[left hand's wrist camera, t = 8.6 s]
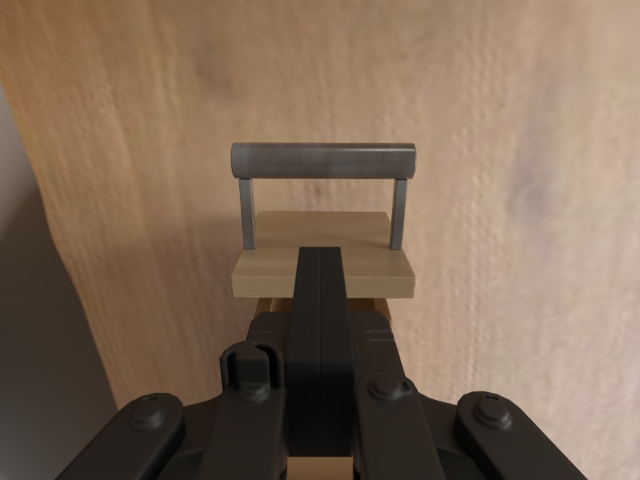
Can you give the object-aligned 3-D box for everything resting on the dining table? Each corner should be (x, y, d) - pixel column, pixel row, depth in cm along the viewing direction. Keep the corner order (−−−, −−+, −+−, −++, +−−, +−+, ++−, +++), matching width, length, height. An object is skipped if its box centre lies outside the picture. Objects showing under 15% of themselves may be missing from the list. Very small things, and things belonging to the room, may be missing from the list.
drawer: (252, 126, 25) (216, 156, 17) (393, 126, 25) (431, 156, 17) (268, 397, 34) (251, 508, 26) (373, 397, 34) (391, 509, 26)
